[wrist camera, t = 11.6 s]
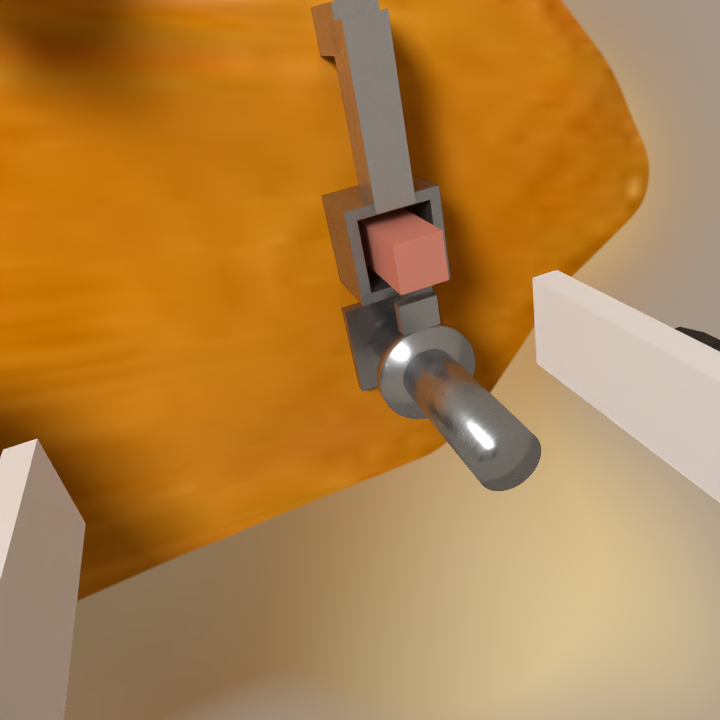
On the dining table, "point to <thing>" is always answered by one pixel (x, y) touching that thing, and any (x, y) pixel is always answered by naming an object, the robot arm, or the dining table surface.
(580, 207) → the dining table surface
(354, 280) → the bracket
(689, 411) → the robot arm
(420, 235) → the wedge pin
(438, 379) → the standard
